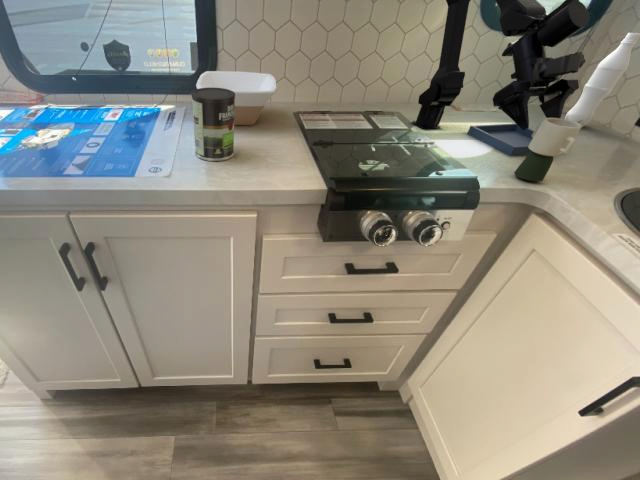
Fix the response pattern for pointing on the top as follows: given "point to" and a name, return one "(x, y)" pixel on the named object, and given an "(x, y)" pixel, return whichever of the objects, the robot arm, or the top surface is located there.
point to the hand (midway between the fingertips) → (541, 128)
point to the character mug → (547, 147)
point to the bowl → (242, 91)
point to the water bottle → (602, 81)
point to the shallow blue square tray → (504, 137)
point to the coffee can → (213, 123)
